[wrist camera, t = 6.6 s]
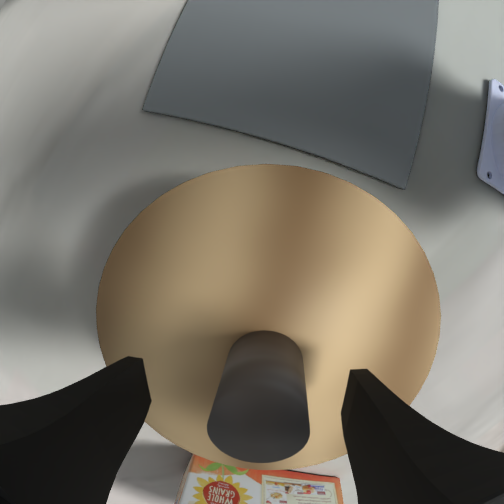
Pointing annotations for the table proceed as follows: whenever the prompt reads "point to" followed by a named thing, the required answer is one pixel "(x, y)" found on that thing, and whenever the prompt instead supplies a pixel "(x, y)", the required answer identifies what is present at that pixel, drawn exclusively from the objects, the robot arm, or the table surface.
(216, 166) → the table surface
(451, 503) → the robot arm
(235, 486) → the cracker box
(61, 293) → the table surface
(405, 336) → the lid
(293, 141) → the mat
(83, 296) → the table surface
